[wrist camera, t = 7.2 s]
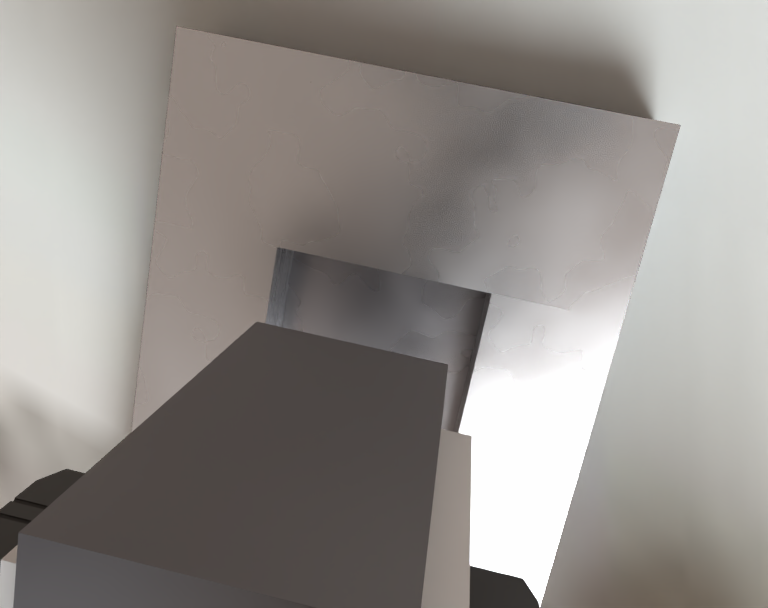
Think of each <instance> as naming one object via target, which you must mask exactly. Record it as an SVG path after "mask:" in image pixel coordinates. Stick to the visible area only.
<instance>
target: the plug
mask: <svg viewBox="0 0 768 608" xmlns="http://www.w3.org/2000/svg"><path fill="white" fill-rule="evenodd" d="M447 372H448V364H444V363H440V362H435V361H431V360H426V359H422V358H417V357H413V356H408V355H404V354H400V353H395V352H391V351H386V350H382V349H377V348H373V347H368V346H364V345H359V344H355V343H351V342H346V341H342V340H337V339H333V338H328V337H324V336H319V335H315V334H310V333H306V332H302V331H297V330H293V329H288V328H284V327H279V326H275V325H270V324H266V323H261V322H256V323H254V324H253V325H252V326H251V327H250V328H249V329H248V330H247V331H245V332H244V333H243V334H242V335H241V336H240V337H239V338H238V339H236V340H235V341H234V342H233V343H232V344H231V345H230V346H229V347H227V348H226V349H225V350H224V351H223V352H222V353H221V354H219V355H218V356H217V357H216V358H215V359H214V360H213V361H212V362H210V363H209V364H208V365H207V366H206V367H205V368H204V369H203V370H201V371H200V372H199V373H198V374H197V375H196V376H195V377H194V378H192V379H191V380H190V381H189V382H188V383H187V384H186V385H184V386H183V387H182V388H181V389H180V390H179V391H178V392H177V393H175V394H174V395H173V396H172V397H171V398H170V399H169V400H168V401H166V402H165V403H164V404H163V405H162V406H161V407H160V408H159V409H157V410H156V411H155V412H154V413H153V414H152V415H151V416H149V417H148V418H147V419H146V420H145V421H144V422H143V423H142V424H140V425H139V426H138V427H137V428H136V429H135V430H134V431H133V432H131V433H130V434H129V435H128V436H127V437H126V438H125V439H124V440H122V441H121V442H120V443H119V444H118V445H117V446H116V447H114V448H113V449H112V450H111V451H110V452H109V453H108V454H107V455H105V456H104V457H103V458H102V459H101V460H100V461H99V462H98V463H96V464H95V465H94V466H93V467H92V468H91V469H90V470H89V471H87V472H86V473H85V474H84V475H83V476H82V477H81V478H79V479H78V480H77V481H76V482H75V483H74V484H73V485H72V486H70V487H69V488H68V489H67V490H66V491H65V492H64V493H63V494H61V495H60V496H59V497H58V498H57V499H56V500H55V501H54V502H52V503H51V504H50V505H49V506H48V507H47V508H46V509H44V510H43V511H42V512H41V513H40V514H39V515H38V516H37V517H35V518H34V519H33V520H32V521H31V522H30V523H29V524H28V525H26V526H25V527H24V528H23V529H22V530H21V531H20V532H19V533H18V546H17V560H16V575H15V589H14V603H13V608H421V603H422V594H423V585H424V576H425V567H426V558H427V549H428V541H429V532H430V523H431V514H432V505H433V496H434V487H435V479H436V470H437V461H438V452H439V443H440V434H441V425H442V417H443V408H444V399H445V390H446V381H447Z"/></svg>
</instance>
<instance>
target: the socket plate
mask: <svg viewBox="0 0 768 608" xmlns="http://www.w3.org/2000/svg"><path fill="white" fill-rule="evenodd" d="M680 126H681V125H678V124H673V123H667V122H662V121H657V120H652V119H647V118H642V117H637V116H632V115H627V114H622V113H617V112H611V111H606V110H601V109H596V108H591V107H586V106H581V105H576V104H571V103H566V102H560V101H555V100H550V99H545V98H540V97H535V96H530V95H525V94H520V93H515V92H510V91H504V90H499V89H494V88H489V87H484V86H479V85H474V84H469V83H464V82H459V81H453V80H448V79H443V78H438V77H433V76H428V75H423V74H418V73H413V72H408V71H403V70H397V69H392V68H387V67H382V66H377V65H372V64H367V63H362V62H357V61H352V60H346V59H341V58H336V57H331V56H326V55H321V54H316V53H311V52H306V51H301V50H296V49H290V48H285V47H280V46H275V45H270V44H265V43H260V42H255V41H250V40H245V39H240V38H234V37H229V36H224V35H219V34H214V33H209V32H204V31H199V30H194V29H189V28H183V27H178V26H177V27H176V36H175V45H174V54H173V63H172V72H171V80H170V89H169V98H168V107H167V116H166V125H165V134H164V143H163V152H162V161H161V170H160V179H159V188H158V197H157V206H156V215H155V224H154V233H153V242H152V251H151V260H150V269H149V278H148V287H147V296H146V304H145V313H144V322H143V331H142V340H141V349H140V358H139V367H138V376H137V385H136V394H135V403H134V412H133V421H132V430H131V432H133V431H134V430H135V429H136V428H137V427H138V426H139V425H140V424H142V423H143V422H144V421H145V420H146V419H147V418H148V417H149V416H151V415H152V414H153V413H154V412H155V411H156V410H157V409H159V408H160V407H161V406H162V405H163V404H164V403H165V402H166V401H168V400H169V399H170V398H171V397H172V396H173V395H174V394H175V393H177V392H178V391H179V390H180V389H181V388H182V387H183V386H184V385H186V384H187V383H188V382H189V381H190V380H191V379H192V378H194V377H195V376H196V375H197V374H198V373H199V372H200V371H201V370H203V369H204V368H205V367H206V366H207V365H208V364H209V363H210V362H212V361H213V360H214V359H215V358H216V357H217V356H218V355H219V354H221V353H222V352H223V351H224V350H225V349H226V348H227V347H229V346H230V345H231V344H232V343H233V342H234V341H235V340H236V339H238V338H239V337H240V336H241V335H242V334H243V333H244V332H245V331H247V330H248V329H249V328H250V327H251V326H252V325H253V324H254V323H256V322H261V323H266V324H270V325H275V326H279V327H284V328H288V329H293V330H297V331H302V332H306V333H310V334H315V335H319V336H324V337H328V338H333V339H337V340H342V341H346V342H351V343H355V344H359V345H364V346H368V347H373V348H377V349H382V350H386V351H391V352H395V353H400V354H404V355H408V356H413V357H417V358H422V359H426V360H431V361H435V362H440V363H444V364H448V372H447V381H446V390H445V399H444V408H443V417H442V425H441V429H444V430H448V431H452V432H457V433H461V434H465V435H470V436H472V450H471V527H470V565H471V566H475V567H479V568H483V569H487V570H491V571H495V572H499V573H503V574H507V575H512V576H516V577H520V578H523V579H524V580H525V582H526V583H527V585H528V587H529V588H530V590H531V591H532V593H533V594H534V596H535V597H536V599H537V600H538V602H539V607H540V605H541V602H542V598H543V595H544V591H545V588H546V585H547V581H548V578H549V574H550V571H551V567H552V564H553V561H554V557H555V554H556V550H557V547H558V543H559V540H560V537H561V533H562V530H563V526H564V523H565V519H566V516H567V513H568V509H569V506H570V502H571V499H572V495H573V492H574V489H575V485H576V482H577V478H578V475H579V471H580V468H581V465H582V461H583V458H584V454H585V451H586V448H587V444H588V441H589V437H590V434H591V430H592V427H593V424H594V420H595V417H596V413H597V410H598V406H599V403H600V400H601V396H602V393H603V389H604V386H605V382H606V379H607V376H608V372H609V369H610V365H611V362H612V358H613V355H614V352H615V348H616V345H617V341H618V338H619V334H620V331H621V328H622V324H623V321H624V317H625V314H626V310H627V307H628V304H629V300H630V297H631V293H632V290H633V287H634V283H635V280H636V276H637V273H638V269H639V266H640V263H641V259H642V256H643V252H644V249H645V245H646V242H647V239H648V235H649V232H650V228H651V225H652V221H653V218H654V215H655V211H656V208H657V204H658V201H659V197H660V194H661V191H662V187H663V184H664V180H665V177H666V173H667V170H668V167H669V163H670V160H671V156H672V153H673V150H674V146H675V143H676V139H677V136H678V132H679V129H680Z"/></svg>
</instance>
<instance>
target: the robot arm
mask: <svg viewBox="0 0 768 608" xmlns="http://www.w3.org/2000/svg"><path fill="white" fill-rule="evenodd" d="M471 450H472V436H470V435H465V434H461V433H457V432H452V431H448V430H444V429H441V434H440V443H439V452H438V461H437V470H436V479H435V487H434V496H433V505H432V514H431V523H430V532H429V541H428V549H427V558H426V567H425V576H424V585H423V594H422V603H421V608H540V607H539V602H538V600H537V599H536V597H535V596H534V594H533V593H532V591H531V590H530V588H529V587H528V585H527V583H526V582H525V580H524V579H523V578H520V577H516V576H512V575H507V574H503V573H499V572H495V571H491V570H487V569H483V568H479V567H475V566H471V565H470V527H471ZM84 474H85V473H81V472H77V471H73V470H69V469H65V470H62V471H60V472H57V473H55V474H52V475H49V476H47V477H44V478H42V479H39V480H37V481H35V482H34V483H33V484H31V485H30V486H29V487H28V488H26V489H25V490H24V491H23V492H21V493H20V494H19V495H18V496H16V497H15V500H14V501H13V502H12V501H10V502H9V503H8V504H6V505H5V506H4V507H3V508H1V509H0V608H13V603H14V589H15V575H16V560H17V546H18V533H19V532H20V531H21V530H22V529H23V528H24V527H25V526H26V525H28V524H29V523H30V522H31V521H32V520H33V519H34V518H35V517H37V516H38V515H39V514H40V513H41V512H42V511H43V510H44V509H46V508H47V507H48V506H49V505H50V504H51V503H52V502H54V501H55V500H56V499H57V498H58V497H59V496H60V495H61V494H63V493H64V492H65V491H66V490H67V489H68V488H69V487H70V486H72V485H73V484H74V483H75V482H76V481H77V480H78V479H79V478H81V477H82V476H83V475H84Z"/></svg>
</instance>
